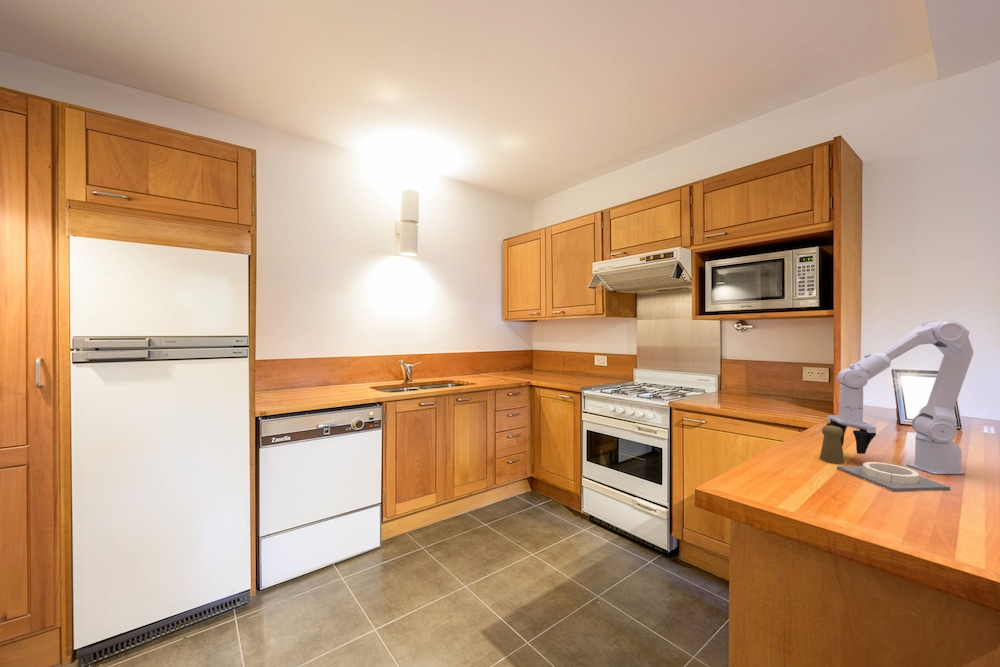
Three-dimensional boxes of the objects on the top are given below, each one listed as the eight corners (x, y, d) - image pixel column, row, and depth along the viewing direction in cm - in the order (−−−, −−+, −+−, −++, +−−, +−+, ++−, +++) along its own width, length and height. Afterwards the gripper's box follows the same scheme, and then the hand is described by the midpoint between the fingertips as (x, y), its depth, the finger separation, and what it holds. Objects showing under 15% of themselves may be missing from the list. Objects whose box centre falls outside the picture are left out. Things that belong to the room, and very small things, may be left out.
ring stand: (887, 468, 121) (887, 458, 120) (950, 490, 105) (950, 479, 105) (836, 469, 120) (837, 459, 119) (892, 491, 104) (893, 480, 103)
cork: (835, 458, 130) (835, 424, 129) (849, 464, 124) (850, 428, 123) (815, 457, 130) (815, 423, 130) (828, 463, 124) (829, 428, 124)
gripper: (819, 402, 134) (818, 442, 134) (860, 411, 119) (859, 457, 120) (839, 402, 134) (838, 442, 135) (883, 411, 120) (881, 457, 120)
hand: (849, 449), depth 127 cm, fingers open, 7 cm apart
